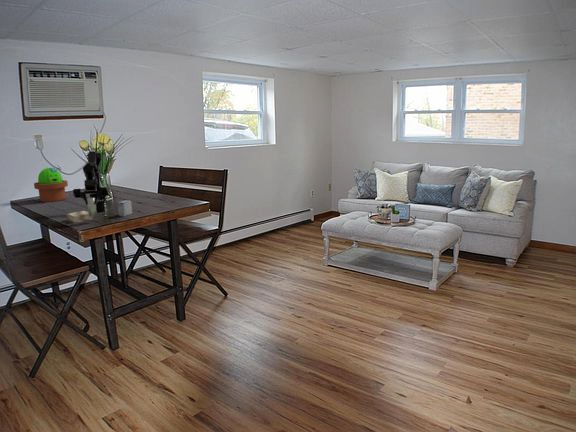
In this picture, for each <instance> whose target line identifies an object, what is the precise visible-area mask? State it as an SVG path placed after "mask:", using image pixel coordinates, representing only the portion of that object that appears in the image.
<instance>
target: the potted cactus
mask: <svg viewBox="0 0 576 432" xmlns="http://www.w3.org/2000/svg"><path fill="white" fill-rule="evenodd" d="M37 180H38V181H36V182H33V186H34V189H35V190H38V195H39V201H40V202H42V203H43V202H44V203H53V202H61V201H64V200H66V199H67V194H66V189H65V188H66V187H68V186H69V184H68V180H65V179H63V176H62V174H61V172H59V170H57V169H56V168H55V167H46V168H43V169H42V170H40V172H39V173H38V177H37ZM60 200H61V201H60Z"/></svg>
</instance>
